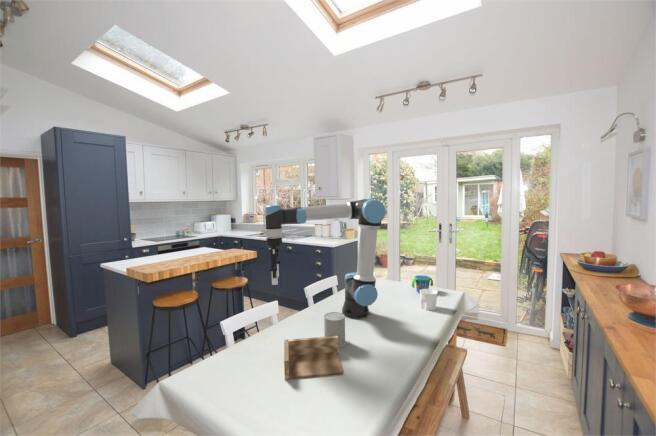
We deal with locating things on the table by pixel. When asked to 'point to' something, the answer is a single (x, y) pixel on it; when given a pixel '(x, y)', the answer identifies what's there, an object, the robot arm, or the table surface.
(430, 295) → the cup
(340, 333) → the beer can
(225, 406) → the table surface
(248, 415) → the table surface
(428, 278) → the snack cup
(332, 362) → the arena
